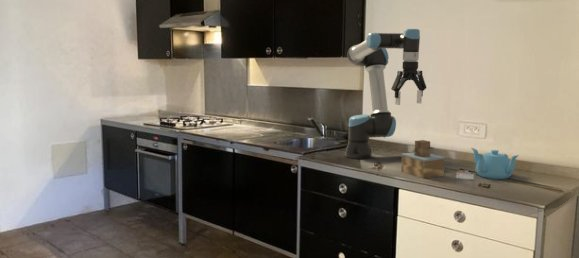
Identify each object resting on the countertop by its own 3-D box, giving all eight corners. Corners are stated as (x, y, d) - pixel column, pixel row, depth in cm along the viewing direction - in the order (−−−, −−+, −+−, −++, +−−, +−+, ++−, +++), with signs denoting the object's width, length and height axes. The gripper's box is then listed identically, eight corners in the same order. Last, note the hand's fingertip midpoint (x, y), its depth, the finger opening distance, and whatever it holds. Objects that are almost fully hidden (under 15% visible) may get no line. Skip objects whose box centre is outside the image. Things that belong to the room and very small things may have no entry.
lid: (400, 155, 238) (400, 153, 237) (420, 153, 243) (420, 151, 243) (424, 161, 223) (424, 159, 223) (445, 158, 228) (445, 157, 228)
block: (414, 155, 234) (414, 140, 233) (422, 154, 236) (423, 140, 235) (421, 157, 229) (422, 142, 228) (429, 156, 231) (430, 141, 230)
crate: (401, 171, 239) (401, 155, 238) (420, 169, 244) (420, 153, 243) (424, 178, 224) (424, 161, 223) (443, 175, 230) (444, 159, 229)
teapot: (477, 179, 222) (478, 153, 221) (469, 170, 240) (471, 146, 239) (517, 181, 219) (519, 154, 218) (506, 172, 237) (508, 147, 236)
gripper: (395, 61, 231) (393, 106, 235) (435, 60, 242) (432, 103, 246) (385, 60, 238) (383, 104, 241) (424, 60, 249) (422, 101, 253)
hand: (408, 104), depth 244 cm, fingers open, 13 cm apart
